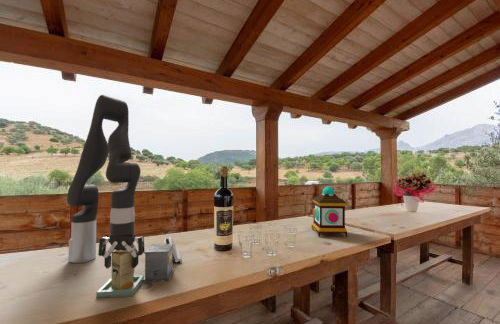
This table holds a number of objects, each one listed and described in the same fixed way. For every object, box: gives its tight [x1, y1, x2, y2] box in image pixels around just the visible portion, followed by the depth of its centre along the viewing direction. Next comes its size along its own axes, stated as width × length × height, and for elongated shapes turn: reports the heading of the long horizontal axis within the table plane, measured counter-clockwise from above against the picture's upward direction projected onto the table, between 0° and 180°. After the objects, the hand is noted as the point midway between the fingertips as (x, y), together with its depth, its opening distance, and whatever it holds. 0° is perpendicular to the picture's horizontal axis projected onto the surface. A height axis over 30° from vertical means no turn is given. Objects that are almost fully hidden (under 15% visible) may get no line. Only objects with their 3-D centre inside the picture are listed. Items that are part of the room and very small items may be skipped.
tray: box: [95, 274, 145, 299], centre depth 83 cm, size 11×11×2 cm
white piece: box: [162, 236, 183, 265], centre depth 111 cm, size 17×5×10 cm, turn 20°
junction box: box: [142, 243, 175, 283], centre depth 93 cm, size 9×10×11 cm
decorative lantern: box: [311, 185, 348, 238], centre depth 154 cm, size 20×20×30 cm
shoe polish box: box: [110, 250, 135, 290], centre depth 84 cm, size 5×5×12 cm
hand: (121, 267), depth 83 cm, fingers open, 8 cm apart
